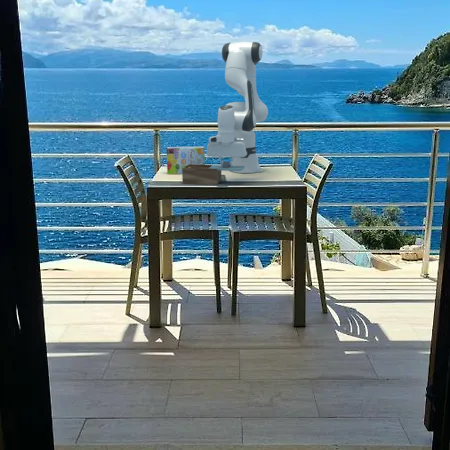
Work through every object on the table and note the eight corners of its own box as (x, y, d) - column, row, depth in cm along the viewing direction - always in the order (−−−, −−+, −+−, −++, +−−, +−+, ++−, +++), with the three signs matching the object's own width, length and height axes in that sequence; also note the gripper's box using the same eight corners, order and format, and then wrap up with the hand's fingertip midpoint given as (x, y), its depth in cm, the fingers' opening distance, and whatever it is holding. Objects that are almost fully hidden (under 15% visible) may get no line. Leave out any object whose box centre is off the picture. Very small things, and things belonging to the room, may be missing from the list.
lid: (212, 167, 306) (212, 160, 305) (244, 167, 303) (244, 161, 302) (208, 170, 297) (208, 163, 296) (240, 171, 294) (240, 164, 293)
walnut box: (188, 179, 311) (188, 164, 309) (221, 180, 308) (221, 165, 306) (182, 183, 300) (182, 167, 298) (216, 184, 297) (216, 168, 295)
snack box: (204, 172, 333) (204, 146, 329) (204, 174, 327) (204, 147, 323) (167, 172, 332) (166, 146, 328) (167, 174, 327) (166, 147, 323)
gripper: (247, 137, 297) (247, 164, 300) (208, 137, 301) (208, 163, 304) (245, 139, 291) (245, 166, 294) (205, 138, 295) (206, 165, 298)
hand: (226, 165), depth 299 cm, fingers closed on lid, 3 cm apart
